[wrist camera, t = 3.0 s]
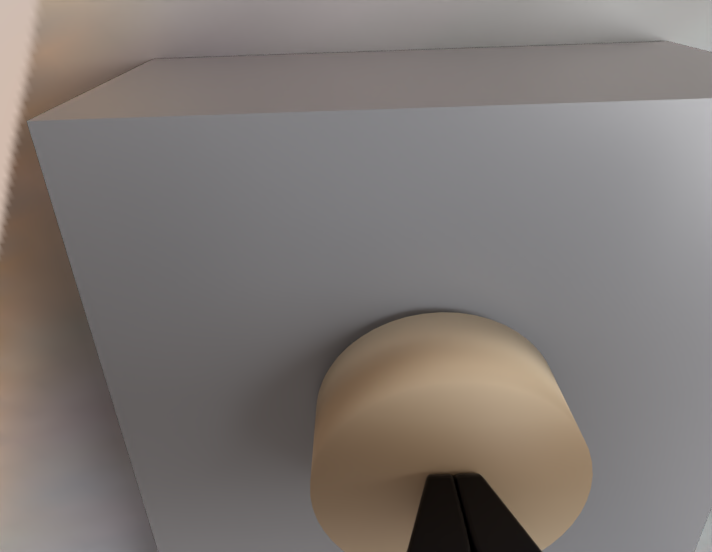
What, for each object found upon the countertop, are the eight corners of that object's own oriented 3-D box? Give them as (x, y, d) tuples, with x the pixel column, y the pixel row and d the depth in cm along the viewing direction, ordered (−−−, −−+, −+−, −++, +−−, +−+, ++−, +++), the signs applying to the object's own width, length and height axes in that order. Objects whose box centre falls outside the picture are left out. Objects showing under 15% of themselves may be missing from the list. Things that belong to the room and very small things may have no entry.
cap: (490, 351, 16) (570, 575, 10) (330, 356, 16) (319, 582, 10) (505, 201, 14) (617, 377, 8) (320, 207, 14) (299, 386, 8)
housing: (546, 607, 24) (601, 789, 19) (259, 614, 24) (233, 797, 19) (668, 41, 13) (874, 92, 8) (153, 58, 13) (26, 121, 8)
